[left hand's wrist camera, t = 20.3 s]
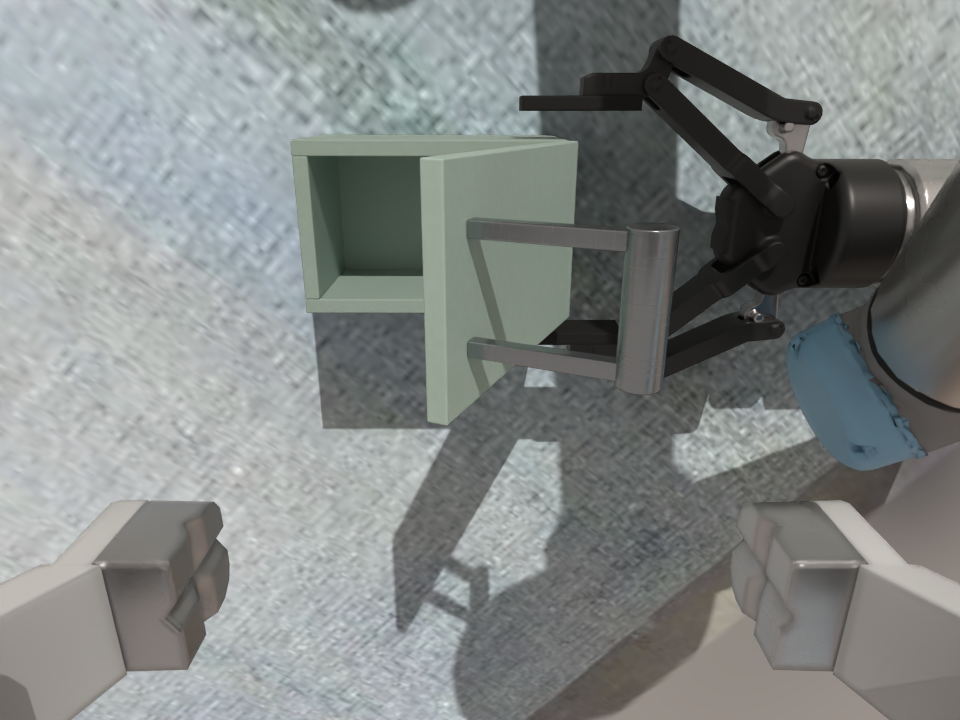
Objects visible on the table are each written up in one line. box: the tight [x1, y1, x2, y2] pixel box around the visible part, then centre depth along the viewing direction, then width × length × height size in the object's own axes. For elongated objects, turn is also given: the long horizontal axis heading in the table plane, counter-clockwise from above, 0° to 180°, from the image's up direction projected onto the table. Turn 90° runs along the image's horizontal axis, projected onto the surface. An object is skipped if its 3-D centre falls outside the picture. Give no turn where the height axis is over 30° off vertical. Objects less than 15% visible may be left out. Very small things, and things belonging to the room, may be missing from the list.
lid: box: [420, 141, 680, 426], centre depth 28 cm, size 16×10×8 cm
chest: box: [290, 135, 569, 313], centre depth 41 cm, size 15×10×9 cm, turn 90°
